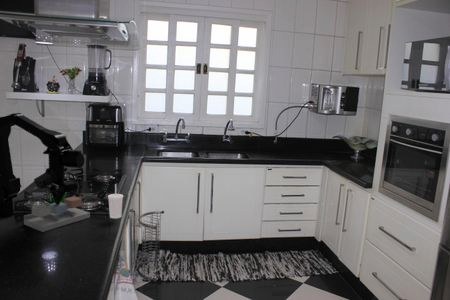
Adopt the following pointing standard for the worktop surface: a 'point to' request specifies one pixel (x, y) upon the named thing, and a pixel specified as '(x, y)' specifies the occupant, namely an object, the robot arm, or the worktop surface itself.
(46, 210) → the grey block
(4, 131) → the robot arm
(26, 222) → the panel
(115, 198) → the beverage cup
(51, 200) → the soda can
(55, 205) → the light blue block
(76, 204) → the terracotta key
